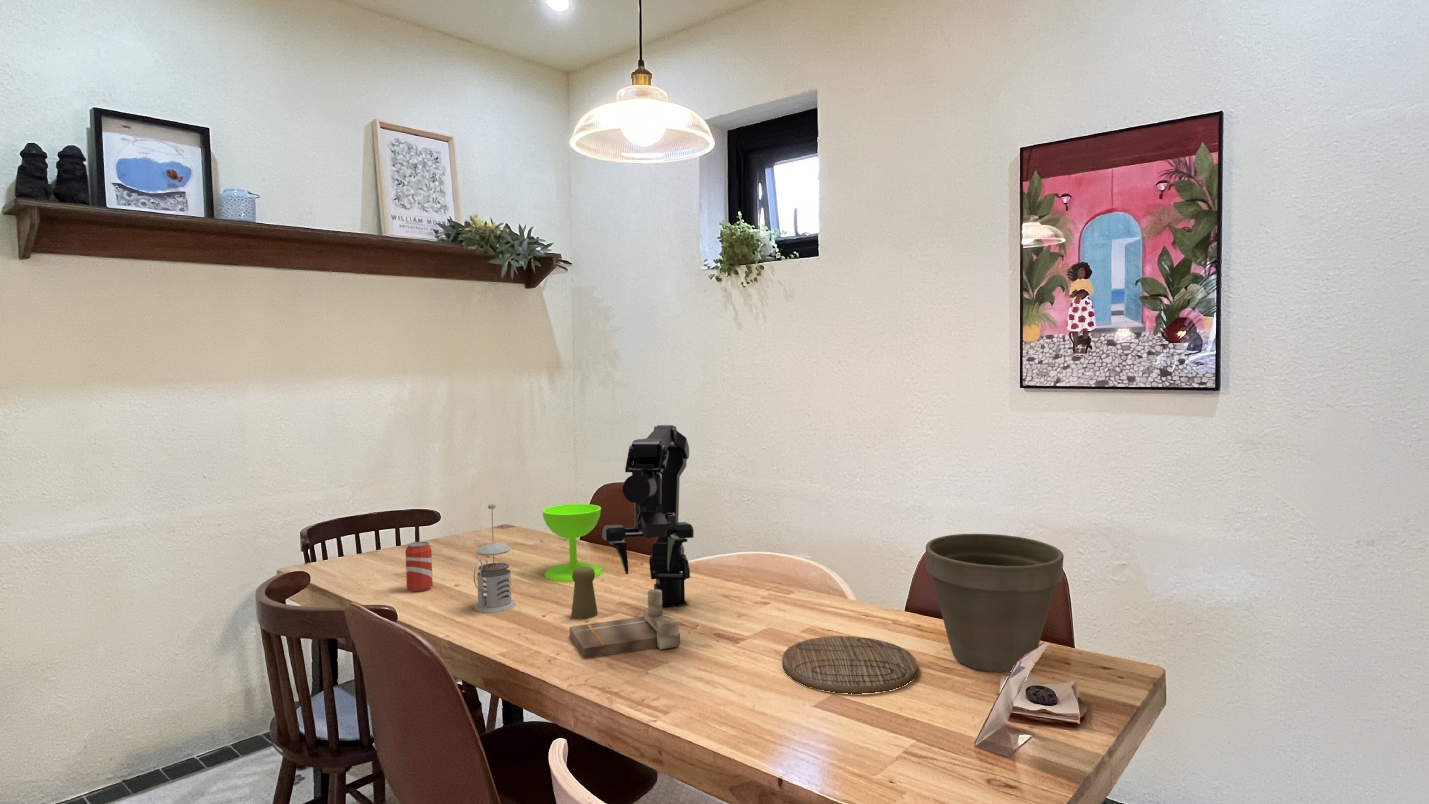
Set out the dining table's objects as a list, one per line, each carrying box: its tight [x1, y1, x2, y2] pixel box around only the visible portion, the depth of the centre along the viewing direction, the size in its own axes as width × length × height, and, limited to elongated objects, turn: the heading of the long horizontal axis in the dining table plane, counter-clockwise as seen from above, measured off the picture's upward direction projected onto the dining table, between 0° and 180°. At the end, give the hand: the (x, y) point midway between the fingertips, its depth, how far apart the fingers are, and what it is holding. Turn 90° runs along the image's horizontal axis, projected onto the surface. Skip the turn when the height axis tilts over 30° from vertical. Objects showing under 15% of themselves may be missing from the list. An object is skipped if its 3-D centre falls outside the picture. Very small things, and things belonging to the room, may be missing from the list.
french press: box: [473, 502, 517, 613], centre depth 188 cm, size 10×12×25 cm
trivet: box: [781, 635, 918, 694], centre depth 148 cm, size 25×25×2 cm
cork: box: [571, 567, 599, 620], centre depth 182 cm, size 6×6×11 cm
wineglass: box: [541, 503, 604, 582], centre depth 218 cm, size 16×16×18 cm
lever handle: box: [644, 588, 680, 650], centre depth 165 cm, size 4×13×9 cm, turn 22°
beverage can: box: [404, 541, 434, 593], centre depth 205 cm, size 6×6×12 cm
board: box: [569, 615, 681, 659], centre depth 165 cm, size 20×14×2 cm
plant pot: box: [925, 533, 1065, 674], centre depth 150 cm, size 25×25×22 cm
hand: (648, 572), depth 167 cm, fingers open, 9 cm apart
